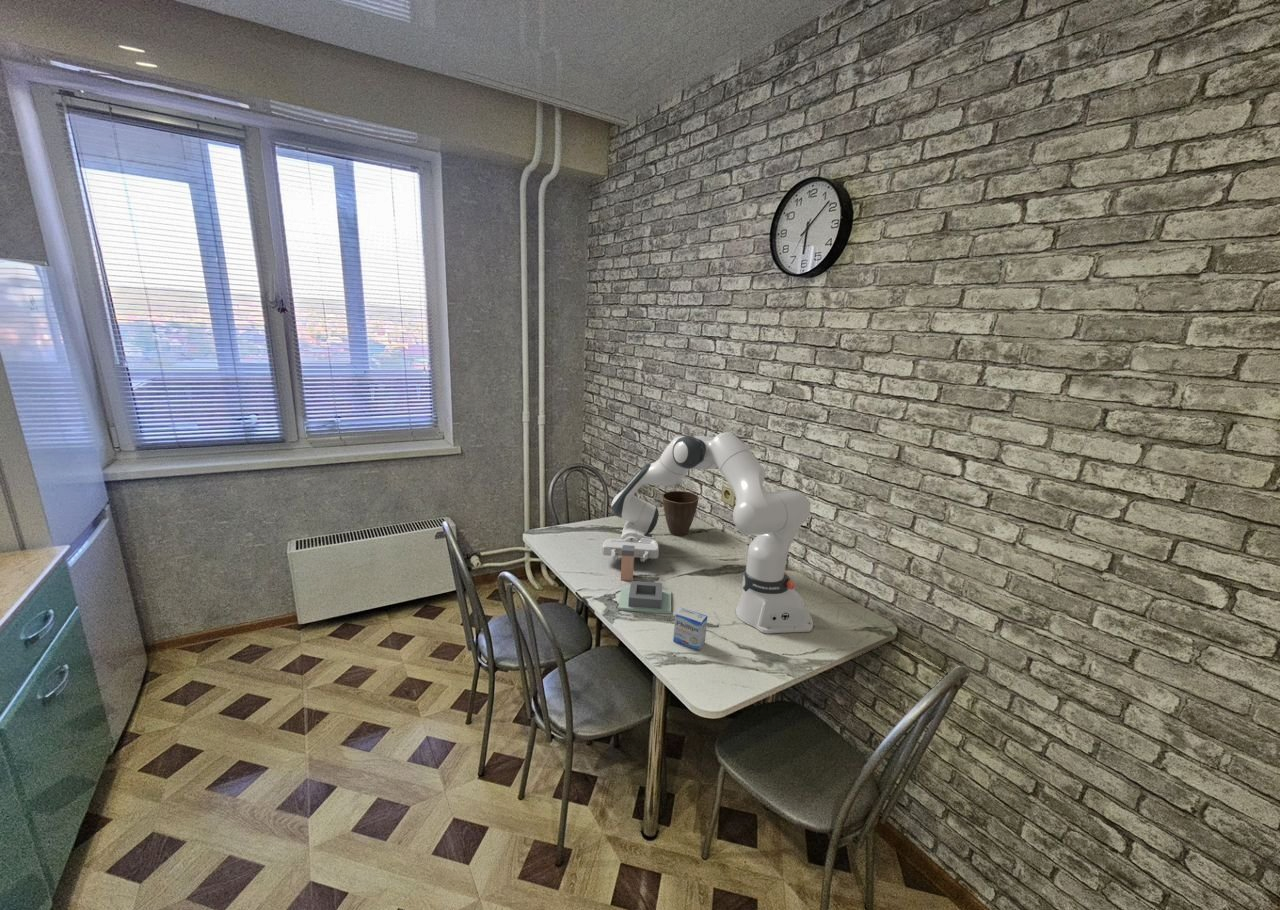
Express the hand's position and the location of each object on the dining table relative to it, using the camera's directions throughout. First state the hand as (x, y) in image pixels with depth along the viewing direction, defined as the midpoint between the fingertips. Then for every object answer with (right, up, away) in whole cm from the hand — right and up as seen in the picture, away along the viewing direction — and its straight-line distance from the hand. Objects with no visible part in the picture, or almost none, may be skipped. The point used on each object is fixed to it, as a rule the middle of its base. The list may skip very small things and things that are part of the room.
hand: (628, 558), depth 168 cm
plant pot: (+20, +3, +38) cm, 43 cm away
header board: (+6, -10, -15) cm, 19 cm away
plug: (-1, -6, -1) cm, 6 cm away
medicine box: (+17, -16, -34) cm, 41 cm away
